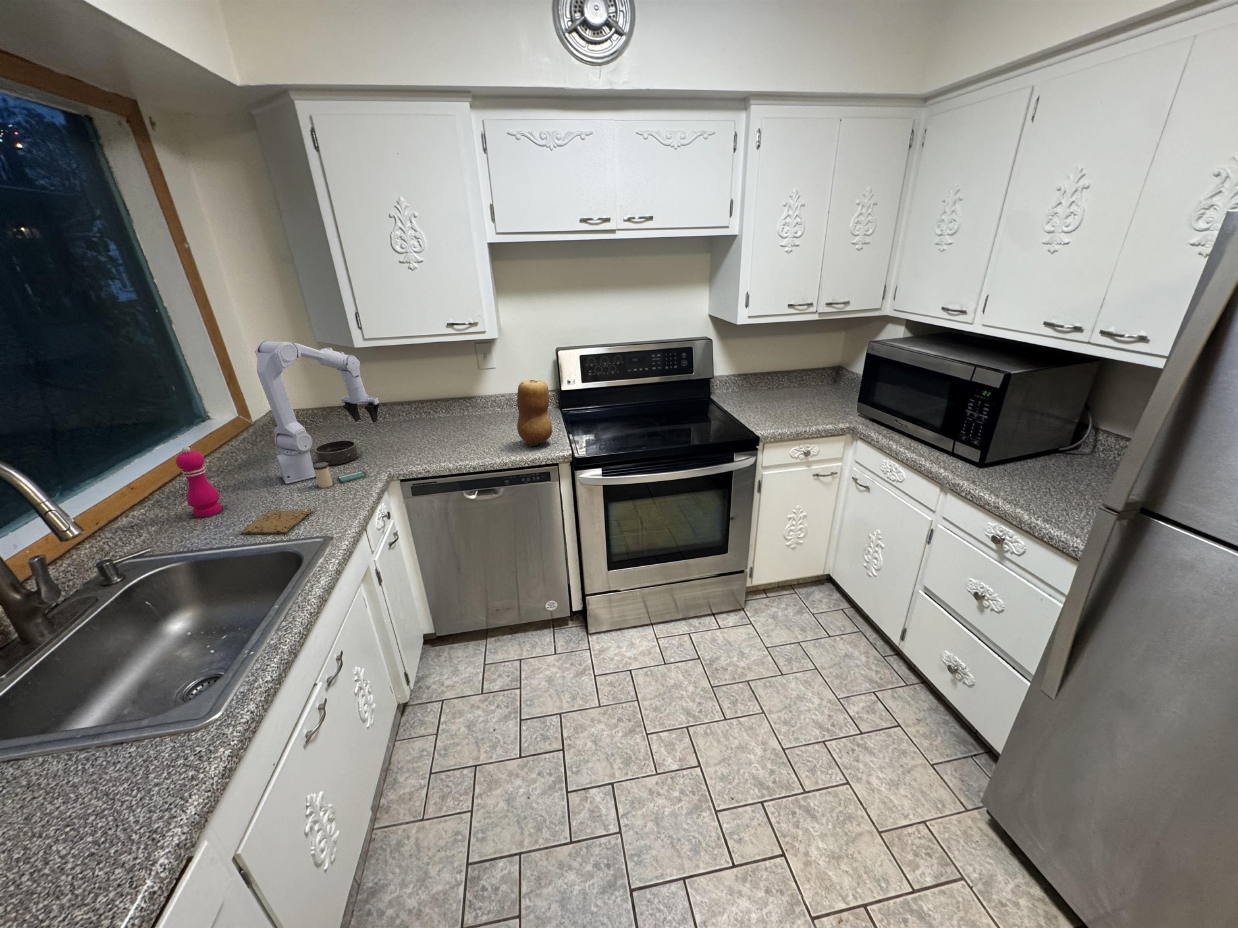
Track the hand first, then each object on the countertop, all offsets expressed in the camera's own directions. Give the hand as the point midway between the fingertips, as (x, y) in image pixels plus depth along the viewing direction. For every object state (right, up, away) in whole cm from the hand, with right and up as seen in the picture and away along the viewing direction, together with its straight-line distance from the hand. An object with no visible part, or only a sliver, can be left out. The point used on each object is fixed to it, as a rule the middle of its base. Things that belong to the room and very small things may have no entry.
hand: (366, 420), depth 190 cm
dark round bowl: (-6, -15, -8) cm, 18 cm away
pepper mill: (-23, -30, -45) cm, 59 cm away
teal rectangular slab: (+7, -21, -23) cm, 32 cm away
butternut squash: (+63, -9, +6) cm, 64 cm away
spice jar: (+1, -23, -29) cm, 37 cm away
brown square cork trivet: (+1, -33, -52) cm, 61 cm away
